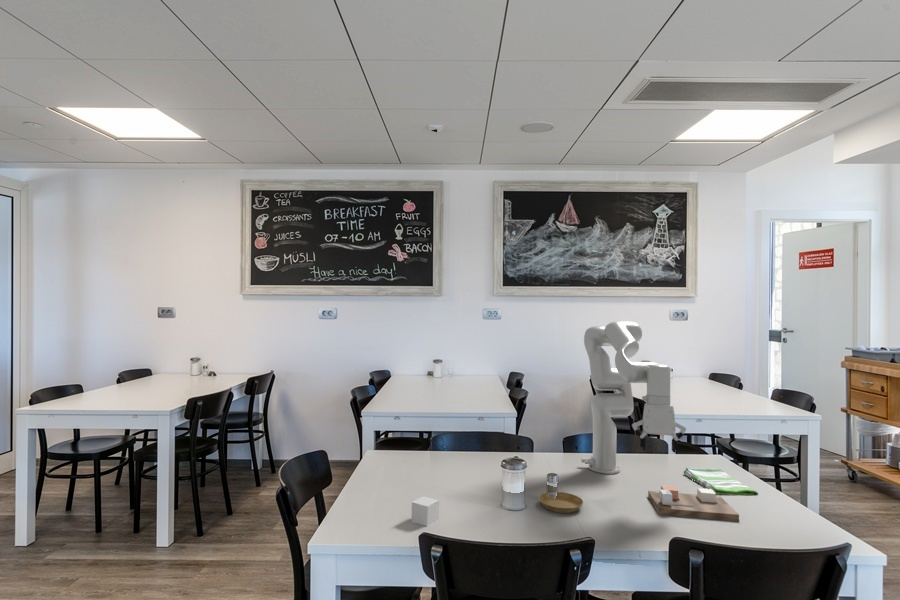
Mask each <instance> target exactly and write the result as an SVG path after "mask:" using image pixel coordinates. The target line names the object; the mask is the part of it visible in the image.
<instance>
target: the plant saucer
mask: <svg viewBox="0 0 900 600" xmlns="http://www.w3.org/2000/svg"><path fill="white" fill-rule="evenodd" d="M548 492H549V491H548ZM548 492H544V493H541V494H539V496H538V500H539V502H540V503H541V504H542V505H543V507H545V509H547V510H549V511H551V512H554V513H559V514H569V513H573V512H577V511H578V510H579V509H580V508H581V507H582V506H583V504H584V500H583V499H582V498H581V497H579V496H578V495H575V494H572V493H569V492H563V491H556V492H557V496H556V498H555V499H554V498H552V497H550V496H548Z"/></svg>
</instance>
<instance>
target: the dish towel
mask: <svg viewBox="0 0 900 600" xmlns="http://www.w3.org/2000/svg"><path fill="white" fill-rule="evenodd" d="M683 474H684V475H685V476H686V477H688V479H690V480H692V479H693V480H692V481H694V480H695V481H696V483H697V482H698V483H699V484H698V483H697V484H698V485H700V484H701V485H702V486H703V487H702V486H701V485H700V486H701V487H702V488H704V487H705V488H704V489H706V488H707V489H712V490H713V491H714V492H715V493H716V495H726V494H733V495H736V496H737V495H738V496H739V495H742V496H743V495H744V496H746V495H748V496H749V495H750V496H755V495H756V496H758V495H759V492H758V491H756V490H754V489H752V488H751V487H750V486H747V485H745V484H744V483H742V482H740V481H739V480H737V479H735V478H734V477H731V475H729V474H727V473H726V472H725V471H724V470H722V469H721V468H720V469H718V468H699V467H697V468H696V467H695V468H693V467H687V466H686V467H685V469H684V470H683ZM695 481H694V482H695ZM733 495H732V496H733Z"/></svg>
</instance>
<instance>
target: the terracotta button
mask: <svg viewBox="0 0 900 600" xmlns="http://www.w3.org/2000/svg"><path fill="white" fill-rule="evenodd" d="M660 489H662V490H669V491H670V492H671V493H672V499H675V500H678V493H679V489H677V487H676V486H675V485H664V484H663V485H660Z"/></svg>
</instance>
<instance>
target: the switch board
mask: <svg viewBox="0 0 900 600" xmlns="http://www.w3.org/2000/svg"><path fill="white" fill-rule="evenodd" d="M647 496H648V499H649V501H650V502H651V501H652V502H651V504H652V505H653V506H655V507H654V508H655V510H656V511H657V513H658V514H659V515H664V516H674V515H675V517H676V516H677V517H688V518H698V519H699V518H700V519H710V520H711V519H712V520H720V521H721V520H723V521H733V522H735V521H736V522H739V521H740V514H739V513H738V512H737V511H736V510H735V509H734V507H732V506H731V505H730V504H729V503H728V502H727V501H726V500H725V499H724V498H723V497H722V496H720V495H719V496H718V495H716V503H712V502H701V501H700V499H699V498H698V497H697V494H695V493H694V494H692V493H680V492H678V500H675V499H672V505H663V504H662V503H661V501H660V491H658V490H657V491H654V490H648V492H647Z"/></svg>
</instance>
